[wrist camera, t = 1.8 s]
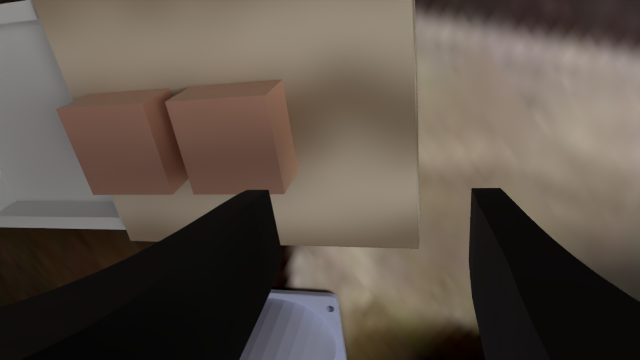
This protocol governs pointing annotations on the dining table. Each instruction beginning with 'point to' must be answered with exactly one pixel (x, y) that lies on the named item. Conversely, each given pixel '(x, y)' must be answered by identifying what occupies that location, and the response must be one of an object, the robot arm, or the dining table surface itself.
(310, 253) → the dining table surface
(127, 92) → the tile
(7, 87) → the box
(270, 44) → the low rectangular platform
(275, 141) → the tile
